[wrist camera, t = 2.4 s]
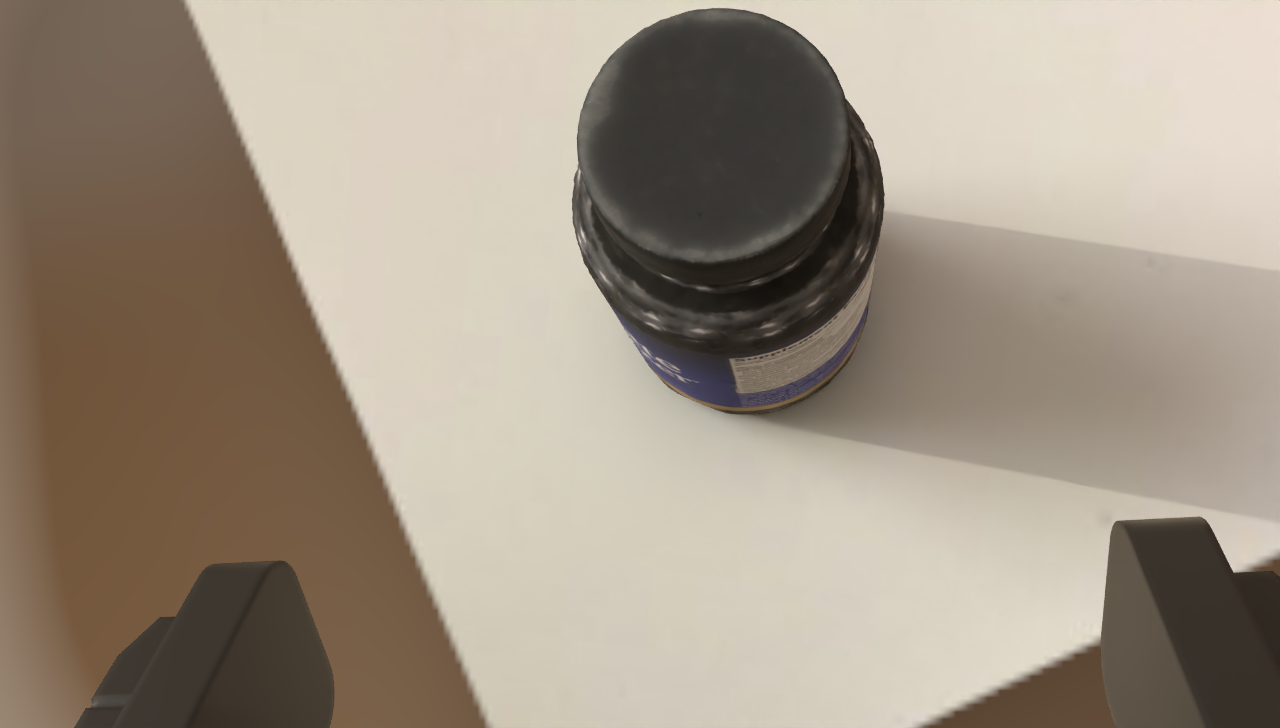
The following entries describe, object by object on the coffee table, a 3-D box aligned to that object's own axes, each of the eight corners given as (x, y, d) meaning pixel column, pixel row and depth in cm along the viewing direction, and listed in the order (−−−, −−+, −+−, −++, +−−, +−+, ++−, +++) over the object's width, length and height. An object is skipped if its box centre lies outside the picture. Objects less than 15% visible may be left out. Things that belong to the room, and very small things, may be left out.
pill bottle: (591, 262, 32) (473, 74, 21) (792, 148, 32) (777, -98, 21) (702, 464, 30) (636, 371, 19) (915, 345, 30) (966, 186, 19)
